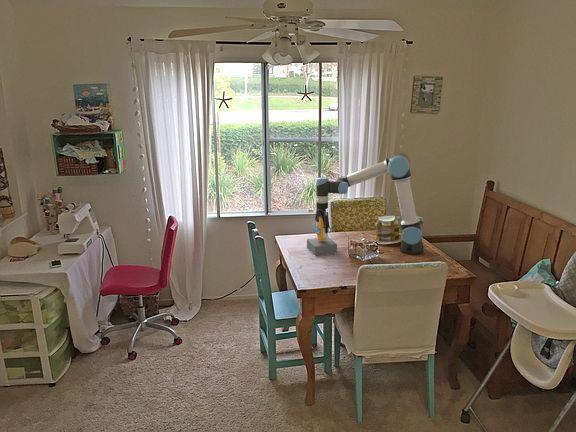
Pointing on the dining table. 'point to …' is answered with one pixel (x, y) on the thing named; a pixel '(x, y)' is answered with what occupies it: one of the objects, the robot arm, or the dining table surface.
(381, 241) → the glass jar
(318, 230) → the orange blue tower
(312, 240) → the plinth
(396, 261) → the dining table surface
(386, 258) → the dining table surface
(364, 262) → the dining table surface
